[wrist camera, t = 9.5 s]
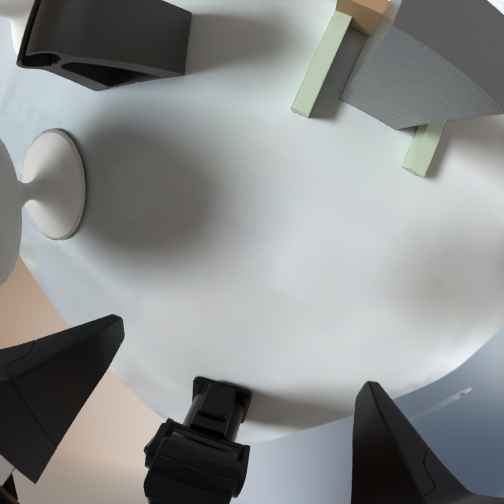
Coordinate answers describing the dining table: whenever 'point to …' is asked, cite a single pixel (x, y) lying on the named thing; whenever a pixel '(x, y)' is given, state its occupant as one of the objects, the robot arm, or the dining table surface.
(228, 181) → the dining table surface
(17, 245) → the chalice
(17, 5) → the flower in vase
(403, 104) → the block
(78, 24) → the phone stand
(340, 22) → the keeper
